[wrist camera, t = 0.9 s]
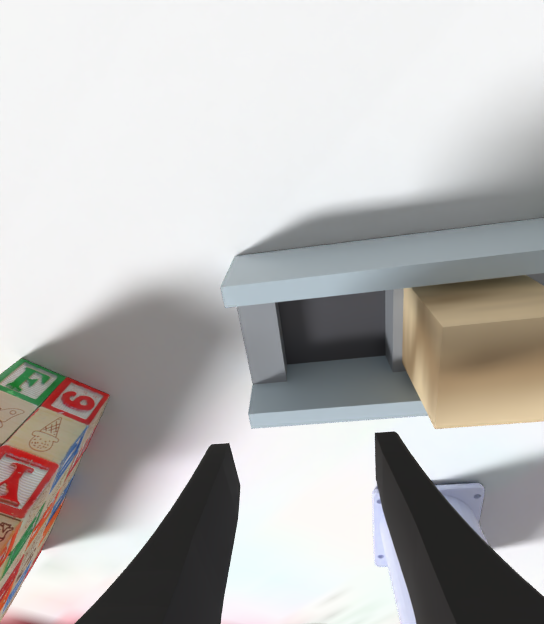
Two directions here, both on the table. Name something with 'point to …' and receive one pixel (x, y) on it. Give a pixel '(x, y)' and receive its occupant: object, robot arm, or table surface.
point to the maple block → (476, 350)
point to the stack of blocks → (37, 460)
